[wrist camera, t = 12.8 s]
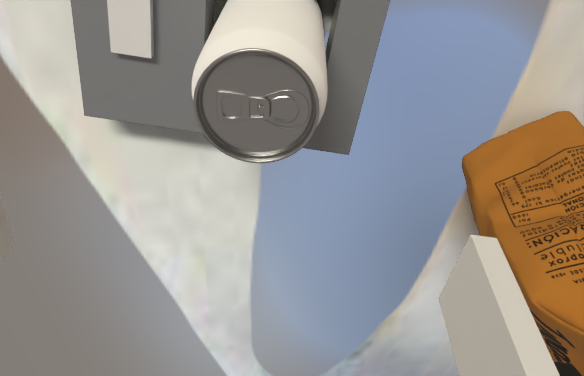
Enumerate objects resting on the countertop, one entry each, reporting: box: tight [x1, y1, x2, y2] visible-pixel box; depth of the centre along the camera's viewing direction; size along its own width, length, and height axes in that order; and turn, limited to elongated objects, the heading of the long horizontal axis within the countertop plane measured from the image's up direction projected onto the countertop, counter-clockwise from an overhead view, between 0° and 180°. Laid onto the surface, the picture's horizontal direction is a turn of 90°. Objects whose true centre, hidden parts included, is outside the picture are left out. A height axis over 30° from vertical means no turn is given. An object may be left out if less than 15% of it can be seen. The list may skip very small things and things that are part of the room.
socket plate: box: [71, 0, 390, 155], centre depth 29 cm, size 18×14×4 cm
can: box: [192, 0, 328, 163], centre depth 26 cm, size 6×6×12 cm
